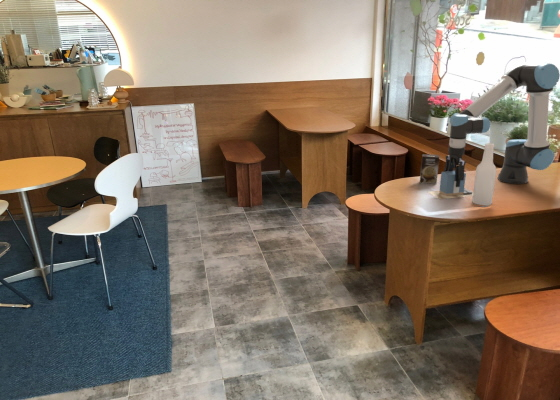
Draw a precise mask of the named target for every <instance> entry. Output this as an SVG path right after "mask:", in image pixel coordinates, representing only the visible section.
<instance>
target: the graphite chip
mask: <svg viewBox="0 0 560 400" xmlns="http://www.w3.org/2000/svg"><path fill="white" fill-rule="evenodd" d="M465 188H466V187H464V191H466V192H468V194H472V192H473V191H472V190H470V191H469V189H468V188H466V189H465ZM467 189H468V190H467ZM471 191H472V192H471Z"/></svg>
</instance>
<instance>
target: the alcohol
mask: <svg viewBox="0 0 560 400" xmlns="http://www.w3.org/2000/svg"><path fill="white" fill-rule="evenodd" d="M494 148H495V143H493V142H492V143H491V142H486V143H485V144H484V150H483V155H482V160H481V162H480V163H479V164H477V166H476V169H475V174H474V175H475V176H474V183H473V184H474V185H473V191H472V192H473V196H472V199H471V200H472V201H471V202H472V203H473V204H475V205H479V206H478V207H479V208H489V207H490V206H491V205H492V203H493V197H494V190H495V183H496V177H497V167H496V165H495V164H494Z"/></svg>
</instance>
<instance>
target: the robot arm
mask: <svg viewBox="0 0 560 400" xmlns="http://www.w3.org/2000/svg"><path fill="white" fill-rule="evenodd" d="M559 81H560V70H559V68H558V67H557V66H556V65H555V64H553V63H550V62H549V63H548V62H537V61H535V62H533V61H526V62H522V63H520V64H518V65H516V66H515V67H513V68H512V69H510V70H509V71H507V72H506V73H505V74H503V75H502V76H501V79H500V80H499V81H498V82H497V83H496V84H494V85H493V86H492V87H491V88H490V89H488V90H487V91H486V92H484V93H483V94H482V95H481V96H479V97H478V98H477V99H476V100H474V101H473V102H472V103H471V104H470V105H468V106H467V107H466V108H465V109H463V110H462V111H461V112H455V113H453V114H452V115H451V116H450V119H449V123H450V129H449V131H450V133H449V141H448V142H449V143H448V150H447V151H448V152H447V153H448V155H445V164H444V169H443V170H444V171H443V172H447V171H455V179H456V180H454V188H453V193H459V187H460V181H462V180H464V173H465V167H466V160H463V158H462V157H463V156H464V155H465V151H466V150H465V149H466V148H465V147H466V143H467V142H466V141H467V135H472V134H483V133H487V132H489V130H490V129H491V121H490V119H489V118H488V117H483V116H482V115H483V114H485V112H487V111H488V110H489V109H490V108H491V107H493V106H494V105H495V104H496V103H498V102H499V101H500V100H501V99H503V98H504V97H506V96H507V94H509V93H510V92H513V91H516V90H517V89H518V88H520V87H526V88H525V93H527V94H528V95H529V96H528V116H527V118H528V119H527V139H522V138H521V139H520V138H519V139H517V138H516V139H509V140H508V141H506V145H505V149H504V158H503V163H502V164H503V165H502V167H501V169H500V171H499V173H498V177H497V179H498V181H500V182H503V183H505V184H506V183H507V184H514V185H515V184H516V185H520V184H522V185H524V184H526V183H528V181H529V176H528V170H527V168H530V169H532V170H536V171H544V170H546V169H548V168H549V167H550V165H552V163H553V162H554V159H555V152H554V151H553V150H552V149H550V144H551V143H550V142H549V141H548V140H547V137H548V123H549V122H548V117H549V103H550V100H549V99H550V94H551V93H552V91H554V87H556V85H558V83H559Z"/></svg>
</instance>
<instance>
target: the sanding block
mask: <svg viewBox="0 0 560 400" xmlns="http://www.w3.org/2000/svg"><path fill="white" fill-rule="evenodd" d="M466 176H467V173H466V172H464V180H462V181H460V187H459V193H453V188H454V180H456V179H455V170H453V171H446V172H444V171H441V173H440V181H439V182H440V183H439V190H438V191H439V193H441V194H443V195H445V196H452V195H461V194H464V188H465V185H466Z"/></svg>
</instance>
